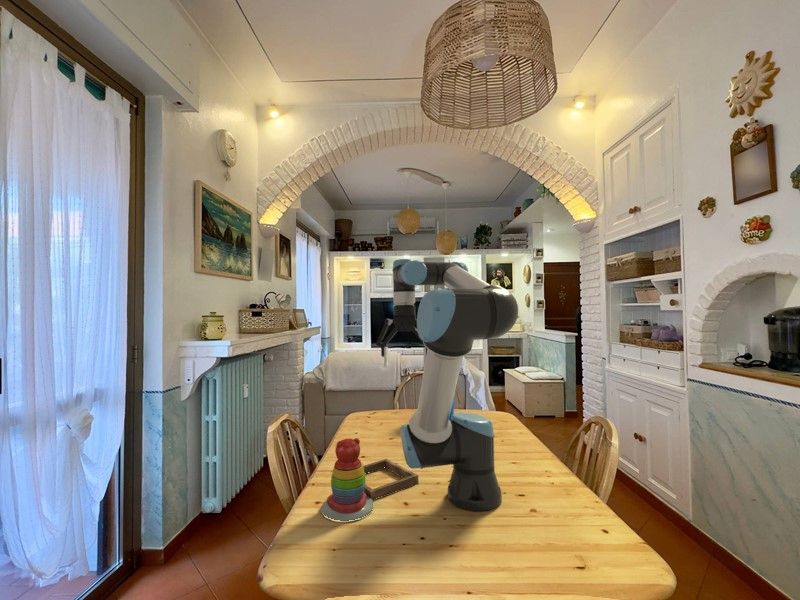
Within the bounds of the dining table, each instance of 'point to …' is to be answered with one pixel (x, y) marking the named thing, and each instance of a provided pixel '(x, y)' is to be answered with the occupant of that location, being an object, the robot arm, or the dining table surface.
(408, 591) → the dining table surface
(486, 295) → the robot arm
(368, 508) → the pad
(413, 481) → the collar
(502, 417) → the dining table surface
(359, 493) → the stacking bear
